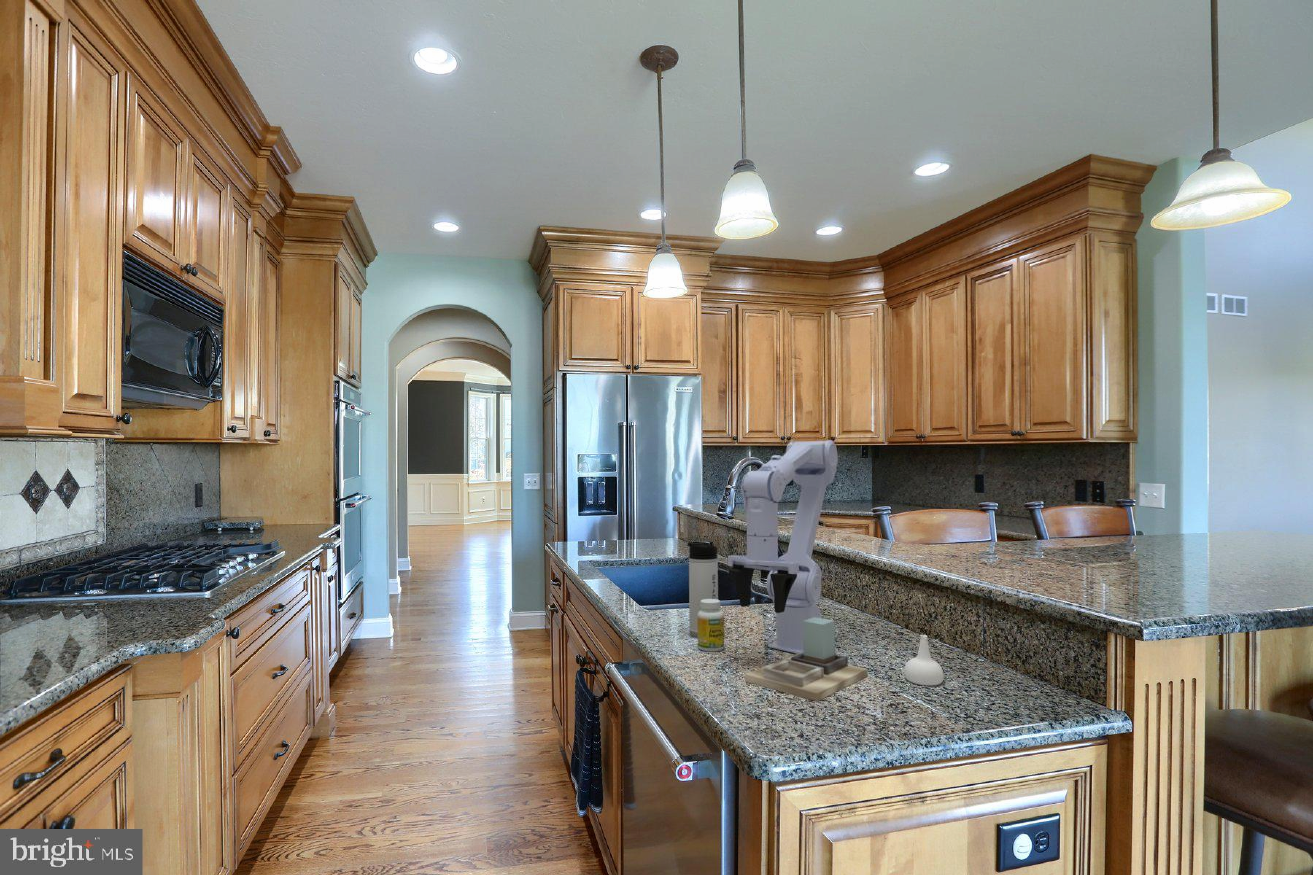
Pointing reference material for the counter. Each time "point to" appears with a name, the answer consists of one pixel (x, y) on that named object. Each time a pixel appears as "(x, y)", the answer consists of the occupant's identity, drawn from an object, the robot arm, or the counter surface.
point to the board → (807, 676)
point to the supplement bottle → (710, 626)
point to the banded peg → (819, 640)
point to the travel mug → (701, 580)
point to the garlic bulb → (923, 667)
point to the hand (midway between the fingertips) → (762, 609)
